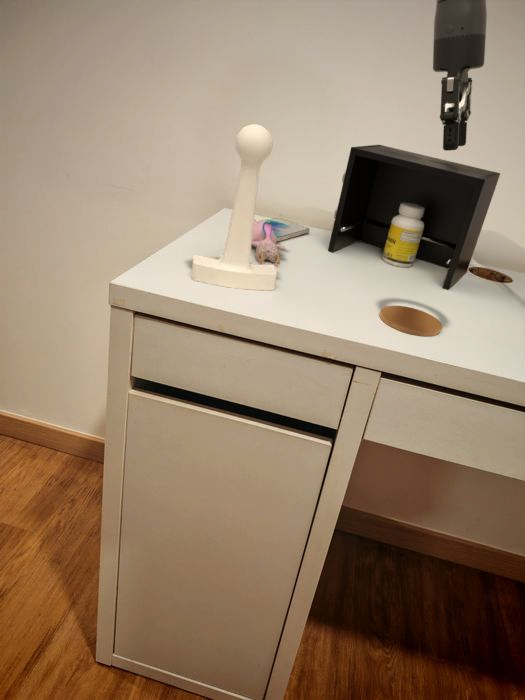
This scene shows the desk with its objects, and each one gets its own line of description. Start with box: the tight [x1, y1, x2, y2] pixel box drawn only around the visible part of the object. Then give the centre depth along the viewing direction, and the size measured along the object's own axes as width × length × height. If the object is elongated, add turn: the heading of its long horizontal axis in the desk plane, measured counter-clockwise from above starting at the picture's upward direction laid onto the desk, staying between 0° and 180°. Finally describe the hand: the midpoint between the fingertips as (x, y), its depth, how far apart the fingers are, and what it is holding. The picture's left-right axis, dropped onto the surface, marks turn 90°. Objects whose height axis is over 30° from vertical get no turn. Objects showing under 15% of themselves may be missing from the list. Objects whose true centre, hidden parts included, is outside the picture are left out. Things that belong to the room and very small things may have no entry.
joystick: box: [190, 123, 278, 291], centre depth 75 cm, size 11×8×20 cm
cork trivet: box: [379, 305, 443, 337], centre depth 76 cm, size 8×8×1 cm
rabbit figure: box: [251, 218, 286, 266], centre depth 91 cm, size 6×6×15 cm
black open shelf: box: [327, 144, 501, 291], centre depth 97 cm, size 13×22×17 cm, turn 60°
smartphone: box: [257, 217, 311, 242], centre depth 103 cm, size 7×1×15 cm
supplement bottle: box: [381, 203, 425, 268], centre depth 98 cm, size 5×5×10 cm
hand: (454, 148), depth 95 cm, fingers open, 8 cm apart
